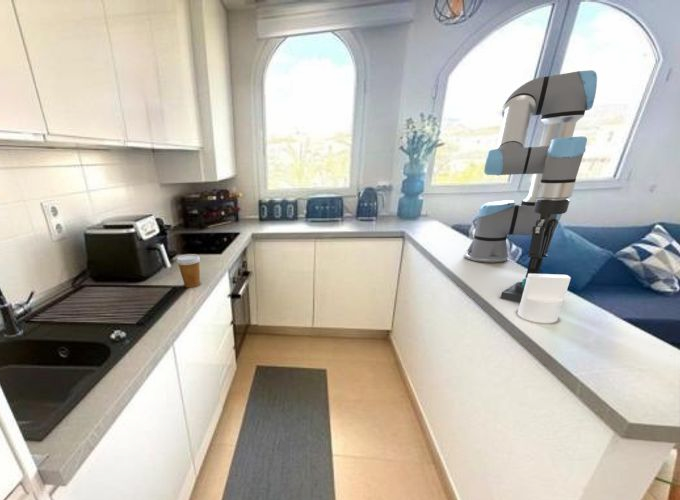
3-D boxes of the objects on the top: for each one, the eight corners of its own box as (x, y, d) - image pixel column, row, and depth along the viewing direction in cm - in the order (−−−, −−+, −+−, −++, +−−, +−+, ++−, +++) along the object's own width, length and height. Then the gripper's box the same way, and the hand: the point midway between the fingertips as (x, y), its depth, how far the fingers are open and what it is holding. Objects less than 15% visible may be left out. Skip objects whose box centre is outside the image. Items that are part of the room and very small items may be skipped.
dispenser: (515, 288, 116) (518, 277, 114) (552, 295, 108) (555, 284, 107) (500, 298, 110) (503, 286, 108) (537, 307, 102) (541, 294, 100)
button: (524, 283, 110) (525, 277, 109) (539, 286, 107) (540, 280, 106) (519, 286, 108) (520, 280, 107) (534, 289, 105) (536, 283, 104)
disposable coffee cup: (208, 281, 146) (204, 254, 141) (195, 289, 138) (190, 260, 133) (189, 280, 150) (185, 253, 145) (176, 287, 142) (171, 259, 137)
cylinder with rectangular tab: (523, 321, 95) (534, 280, 90) (513, 308, 102) (523, 270, 97) (563, 324, 92) (577, 282, 87) (550, 310, 99) (562, 271, 94)
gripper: (545, 195, 103) (525, 270, 112) (528, 200, 96) (508, 280, 106) (577, 196, 97) (553, 275, 107) (561, 201, 90) (538, 286, 100)
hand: (531, 277), depth 106 cm, fingers closed
